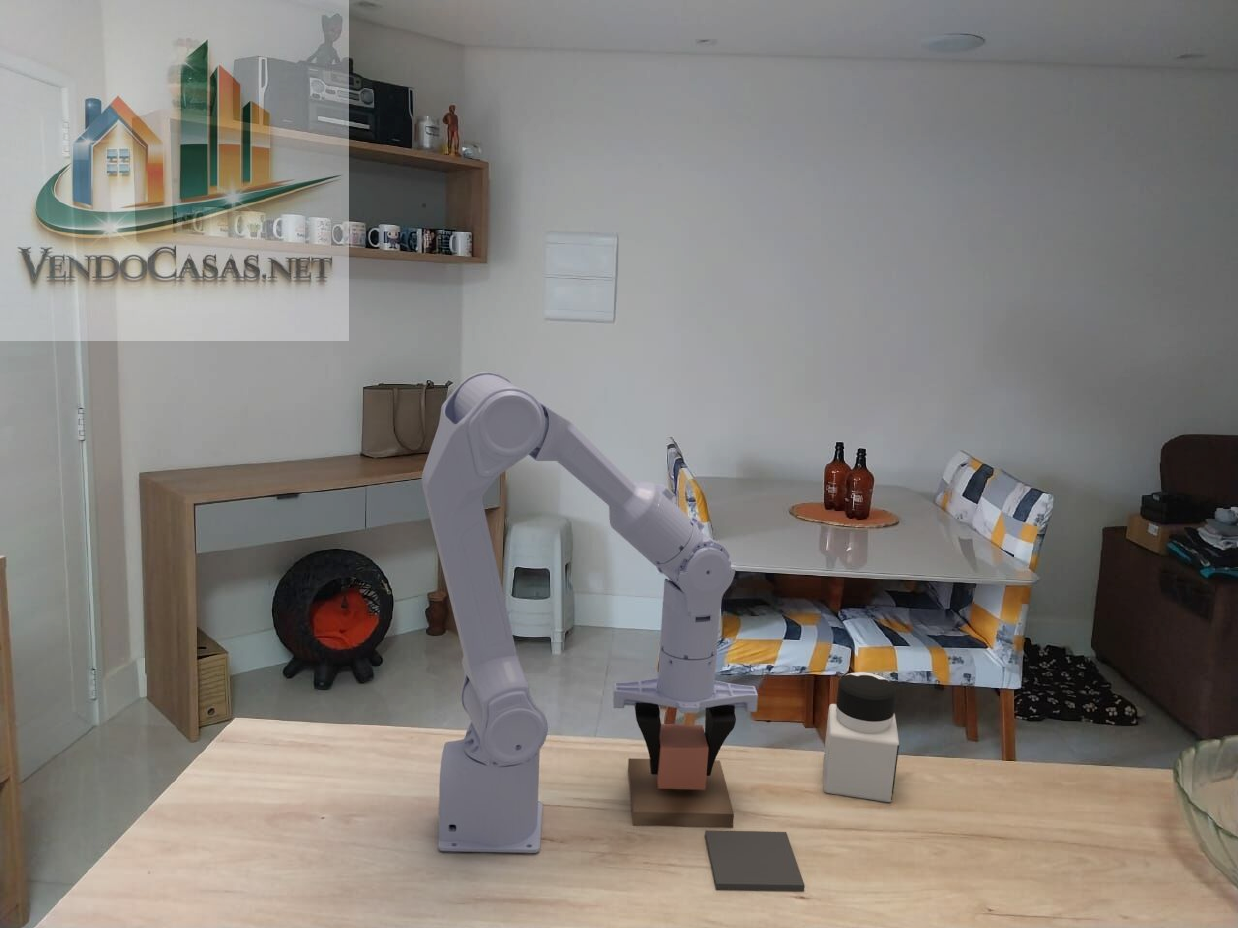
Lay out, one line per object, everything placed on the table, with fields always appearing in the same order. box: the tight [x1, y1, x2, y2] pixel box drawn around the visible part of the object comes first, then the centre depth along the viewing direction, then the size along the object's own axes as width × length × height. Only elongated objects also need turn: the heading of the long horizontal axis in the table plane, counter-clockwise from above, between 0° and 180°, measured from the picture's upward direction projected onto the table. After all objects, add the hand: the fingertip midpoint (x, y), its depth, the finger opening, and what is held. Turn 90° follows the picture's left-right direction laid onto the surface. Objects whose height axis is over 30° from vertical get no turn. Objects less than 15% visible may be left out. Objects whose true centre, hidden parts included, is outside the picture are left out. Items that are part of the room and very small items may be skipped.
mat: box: [704, 829, 805, 892], centre depth 91 cm, size 8×8×1 cm
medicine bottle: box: [823, 671, 900, 803], centre depth 105 cm, size 7×7×12 cm
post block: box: [627, 757, 735, 828], centre depth 100 cm, size 10×10×6 cm
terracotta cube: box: [656, 723, 709, 790], centre depth 100 cm, size 5×5×5 cm
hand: (679, 769), depth 100 cm, fingers closed on terracotta cube, 5 cm apart
